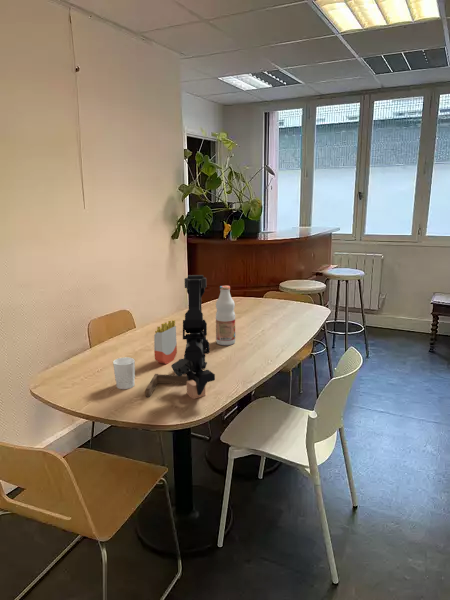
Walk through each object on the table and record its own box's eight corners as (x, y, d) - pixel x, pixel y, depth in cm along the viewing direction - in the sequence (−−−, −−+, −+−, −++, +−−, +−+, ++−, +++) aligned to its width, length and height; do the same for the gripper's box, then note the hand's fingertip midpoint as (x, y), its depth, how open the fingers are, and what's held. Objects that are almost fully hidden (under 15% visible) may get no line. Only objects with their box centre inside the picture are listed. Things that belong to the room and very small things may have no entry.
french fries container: (154, 364, 189) (152, 324, 185) (168, 356, 198) (166, 317, 194) (163, 366, 187) (161, 325, 183) (177, 357, 196) (175, 318, 192)
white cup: (137, 381, 172) (136, 357, 170) (134, 389, 165) (132, 364, 162) (117, 381, 172) (115, 357, 170) (112, 390, 164) (111, 365, 162)
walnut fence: (155, 380, 172) (155, 373, 172) (189, 381, 171) (188, 374, 170) (146, 396, 159) (145, 389, 158) (182, 397, 158) (182, 390, 157)
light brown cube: (186, 393, 161) (186, 381, 160) (199, 390, 163) (198, 378, 162) (192, 399, 157) (192, 386, 156) (205, 395, 159) (205, 382, 158)
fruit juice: (212, 341, 217) (211, 286, 211) (228, 338, 222) (227, 283, 216) (222, 347, 209) (222, 289, 203) (239, 343, 215) (238, 286, 208)
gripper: (163, 347, 160) (165, 387, 164) (185, 364, 144) (187, 407, 148) (191, 342, 166) (192, 381, 169) (215, 357, 150) (216, 399, 154)
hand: (196, 391), depth 160 cm, fingers open, 5 cm apart
